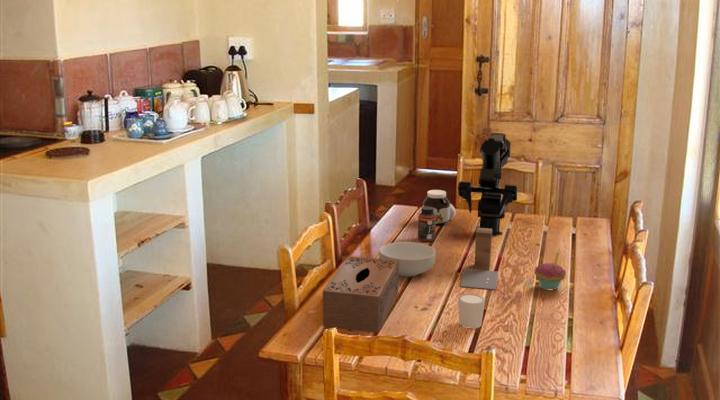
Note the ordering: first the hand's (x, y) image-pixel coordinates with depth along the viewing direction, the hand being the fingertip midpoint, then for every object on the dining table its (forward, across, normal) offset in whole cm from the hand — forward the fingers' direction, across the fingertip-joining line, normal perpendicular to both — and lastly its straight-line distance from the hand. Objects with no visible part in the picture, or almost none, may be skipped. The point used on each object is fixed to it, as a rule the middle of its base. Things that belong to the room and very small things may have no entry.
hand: (484, 213), depth 235 cm
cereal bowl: (+25, -20, -4) cm, 33 cm away
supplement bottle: (+2, -20, +17) cm, 27 cm away
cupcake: (+26, +21, -4) cm, 34 cm away
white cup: (+48, +3, -25) cm, 54 cm away
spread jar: (-13, -19, +32) cm, 39 cm away
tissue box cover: (+47, -26, -24) cm, 59 cm away
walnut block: (+18, +1, +3) cm, 18 cm away
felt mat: (+25, +2, -4) cm, 26 cm away
